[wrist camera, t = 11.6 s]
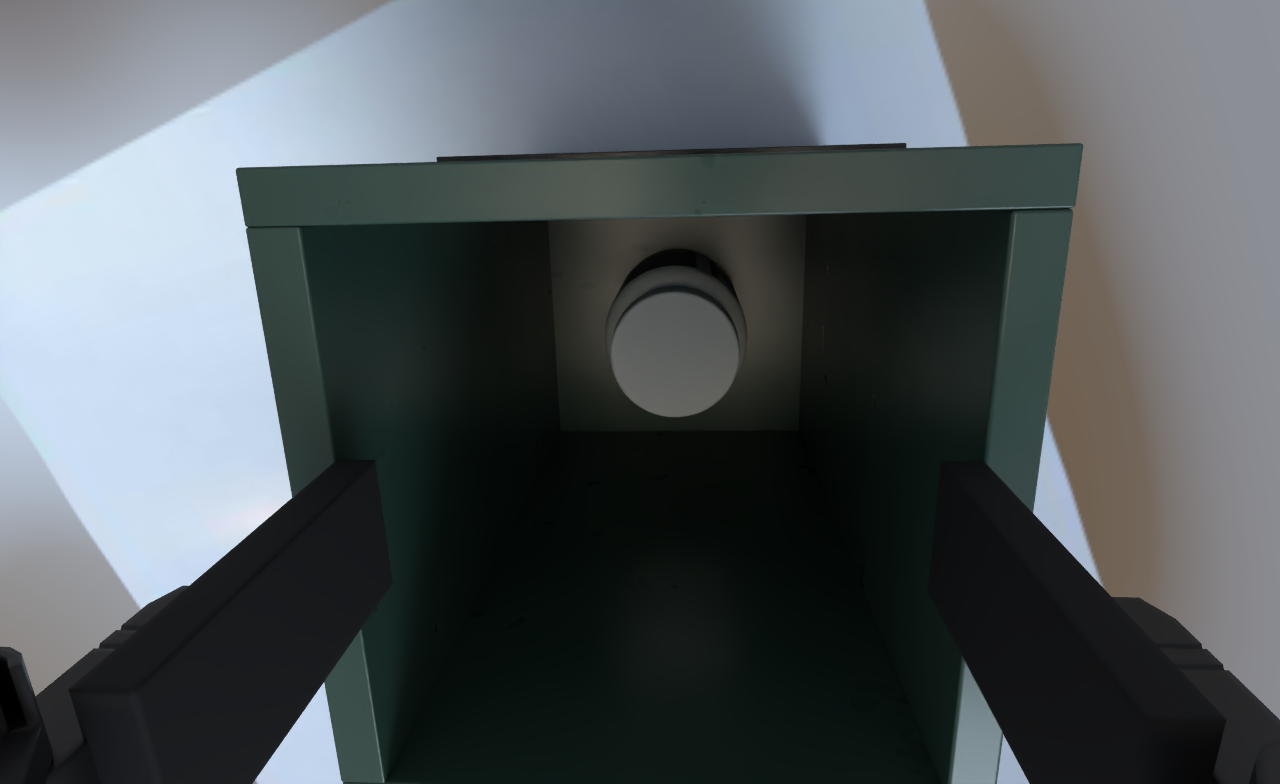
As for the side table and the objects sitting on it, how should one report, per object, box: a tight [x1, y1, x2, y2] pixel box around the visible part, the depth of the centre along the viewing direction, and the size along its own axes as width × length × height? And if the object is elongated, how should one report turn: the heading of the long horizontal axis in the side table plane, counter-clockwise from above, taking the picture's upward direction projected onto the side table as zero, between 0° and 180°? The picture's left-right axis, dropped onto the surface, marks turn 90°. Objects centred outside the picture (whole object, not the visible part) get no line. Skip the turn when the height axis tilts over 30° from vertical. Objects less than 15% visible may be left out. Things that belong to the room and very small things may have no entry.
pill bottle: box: [605, 249, 748, 417], centre depth 32 cm, size 6×6×10 cm
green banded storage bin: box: [236, 143, 1083, 784], centre depth 26 cm, size 15×15×24 cm
